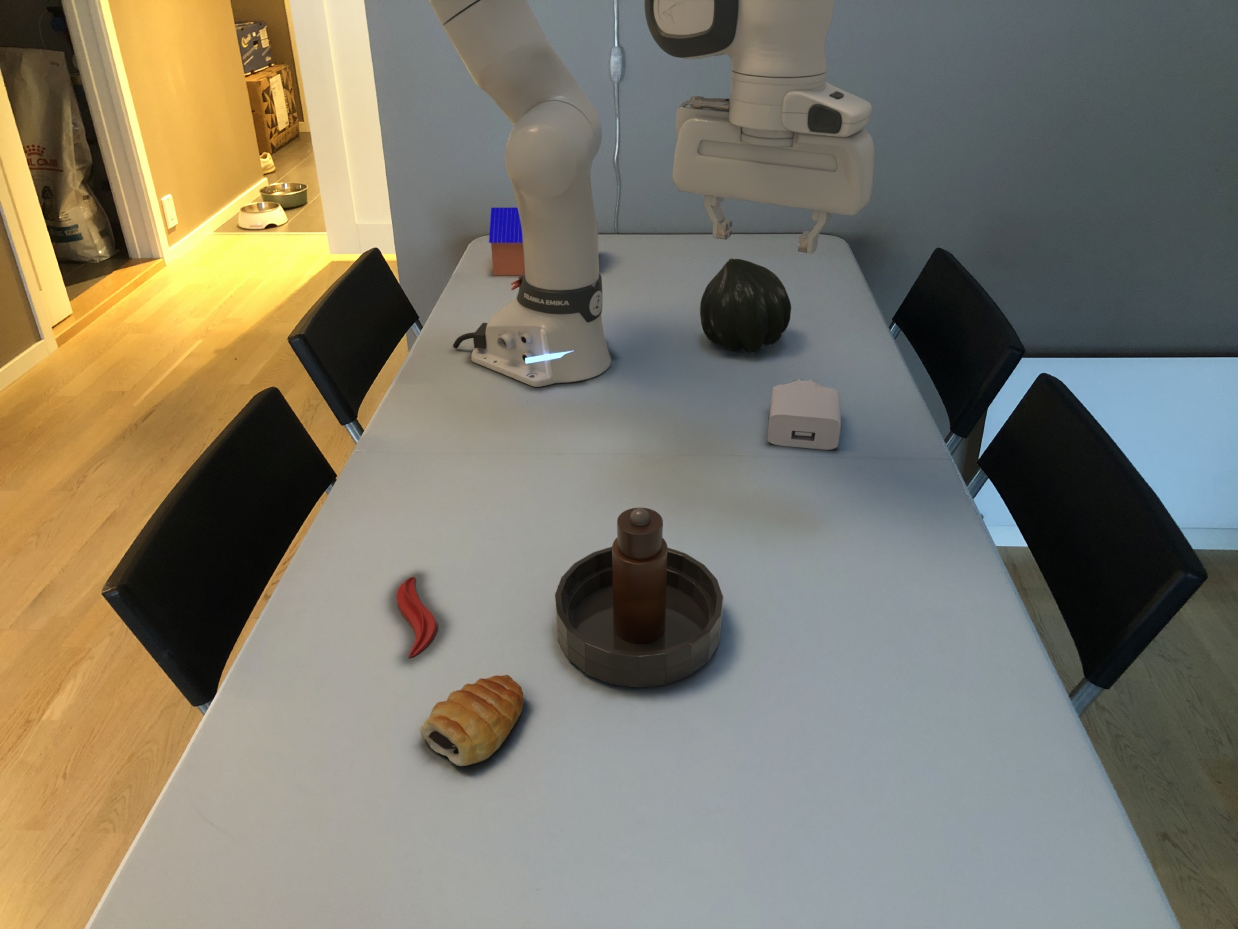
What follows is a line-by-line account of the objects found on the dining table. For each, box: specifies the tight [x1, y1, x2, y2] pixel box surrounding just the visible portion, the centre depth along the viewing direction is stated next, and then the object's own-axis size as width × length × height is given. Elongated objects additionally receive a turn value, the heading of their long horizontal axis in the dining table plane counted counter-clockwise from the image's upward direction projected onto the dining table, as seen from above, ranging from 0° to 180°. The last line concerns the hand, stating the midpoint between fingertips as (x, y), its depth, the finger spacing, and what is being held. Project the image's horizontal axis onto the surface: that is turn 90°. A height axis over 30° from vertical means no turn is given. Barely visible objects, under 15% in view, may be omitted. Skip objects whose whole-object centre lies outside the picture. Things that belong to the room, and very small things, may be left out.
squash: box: [699, 257, 792, 354], centre depth 140 cm, size 14×15×15 cm
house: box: [488, 207, 525, 276], centre depth 172 cm, size 12×20×12 cm, turn 89°
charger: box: [766, 378, 842, 451], centre depth 120 cm, size 5×9×15 cm
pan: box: [554, 546, 724, 689], centre depth 85 cm, size 16×16×4 cm
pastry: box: [420, 674, 525, 767], centre depth 76 cm, size 9×7×4 cm
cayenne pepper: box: [396, 576, 438, 659], centre depth 88 cm, size 12×5×2 cm, turn 4°
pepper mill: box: [611, 507, 669, 643], centre depth 83 cm, size 5×5×14 cm
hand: (763, 244), depth 90 cm, fingers open, 8 cm apart
